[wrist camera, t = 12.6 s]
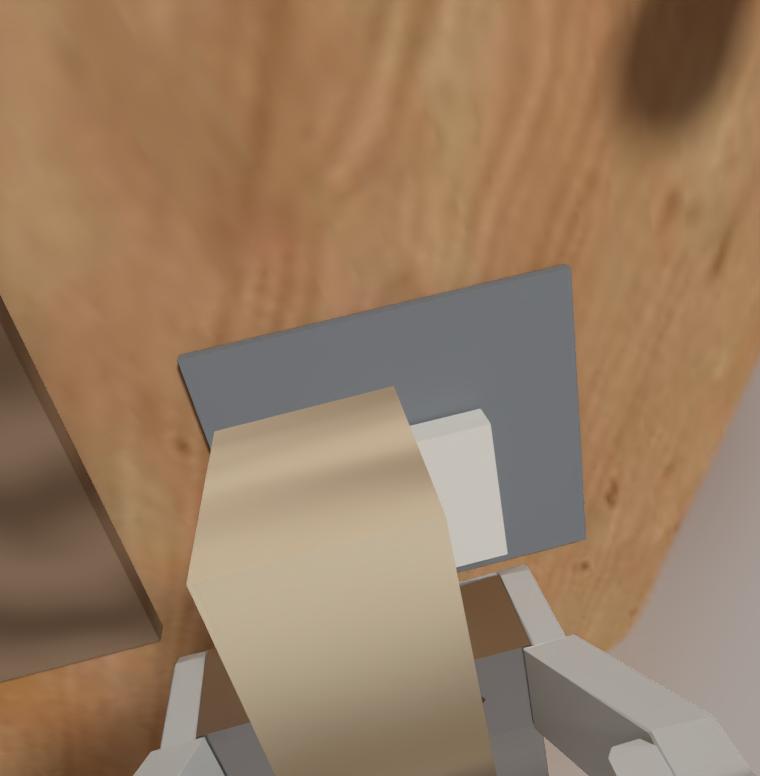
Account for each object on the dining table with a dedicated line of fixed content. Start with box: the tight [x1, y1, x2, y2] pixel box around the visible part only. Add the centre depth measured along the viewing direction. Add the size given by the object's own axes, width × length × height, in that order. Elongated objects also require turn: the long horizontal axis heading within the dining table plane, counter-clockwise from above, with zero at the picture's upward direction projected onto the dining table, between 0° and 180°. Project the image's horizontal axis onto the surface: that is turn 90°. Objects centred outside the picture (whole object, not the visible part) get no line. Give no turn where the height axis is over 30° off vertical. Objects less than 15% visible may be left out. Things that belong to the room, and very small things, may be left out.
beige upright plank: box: [186, 386, 549, 776], centre depth 12 cm, size 14×6×4 cm, turn 12°
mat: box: [177, 264, 586, 573], centre depth 31 cm, size 16×18×1 cm
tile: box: [410, 408, 508, 567], centre depth 31 cm, size 2×8×8 cm
